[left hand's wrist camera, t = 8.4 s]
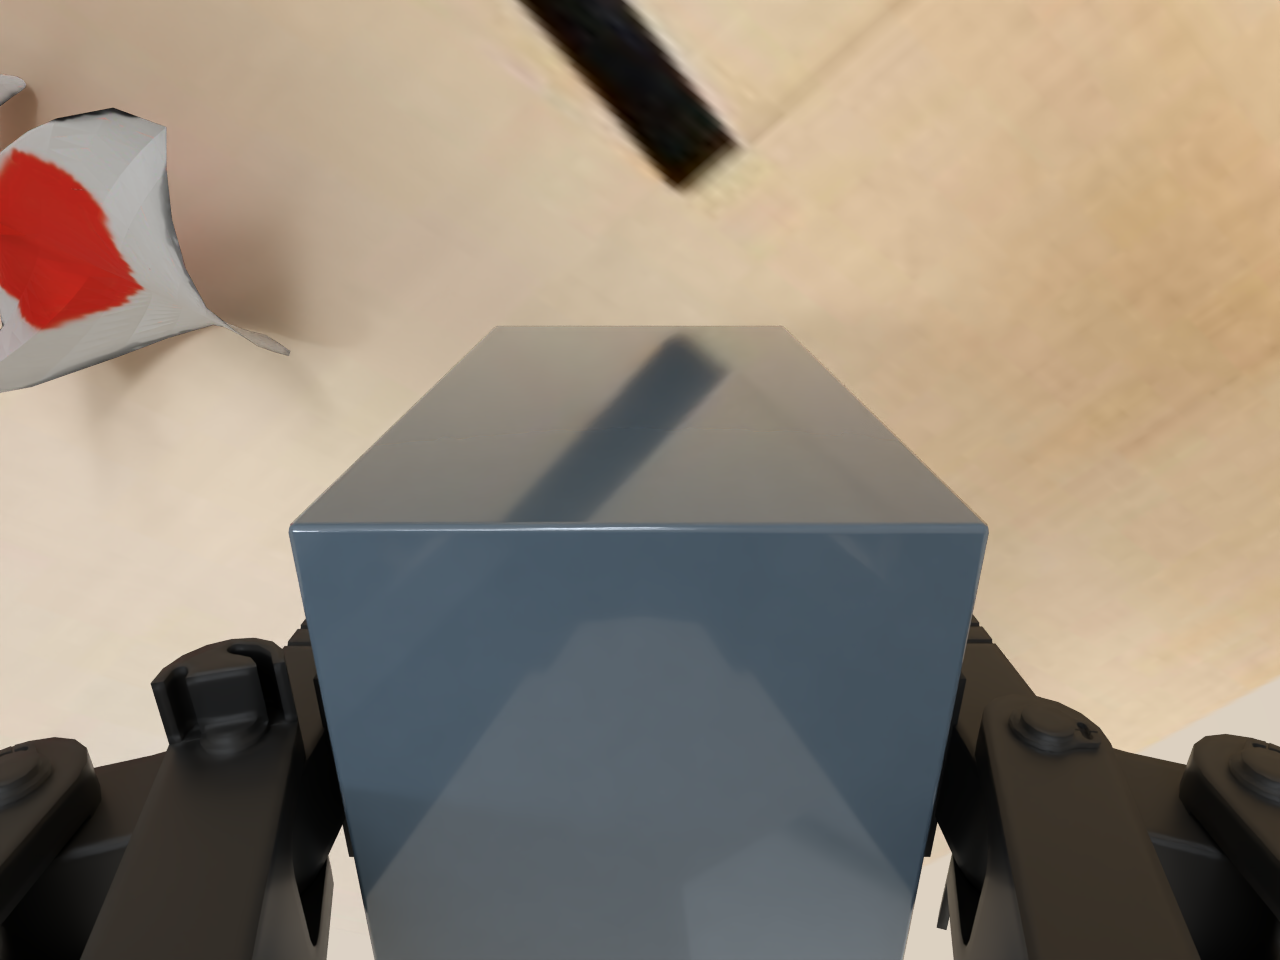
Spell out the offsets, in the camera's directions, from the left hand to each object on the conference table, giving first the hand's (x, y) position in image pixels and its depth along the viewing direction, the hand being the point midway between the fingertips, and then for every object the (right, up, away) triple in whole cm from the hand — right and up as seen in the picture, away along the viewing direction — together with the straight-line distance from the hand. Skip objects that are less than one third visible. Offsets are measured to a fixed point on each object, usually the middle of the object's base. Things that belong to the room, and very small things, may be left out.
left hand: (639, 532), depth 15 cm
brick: (0, 0, +1) cm, 1 cm away
